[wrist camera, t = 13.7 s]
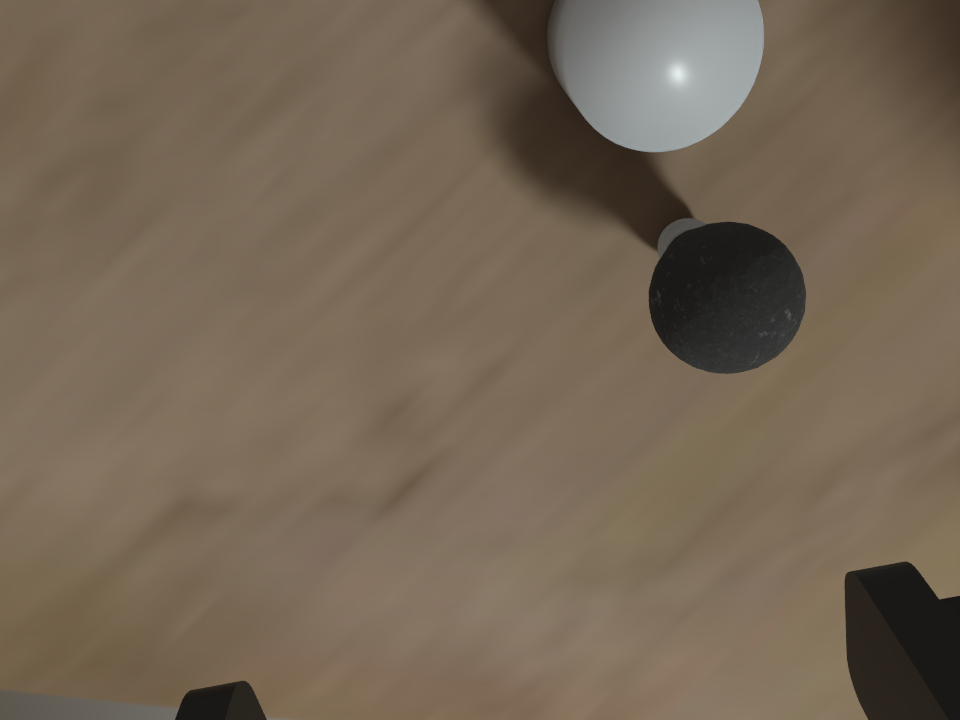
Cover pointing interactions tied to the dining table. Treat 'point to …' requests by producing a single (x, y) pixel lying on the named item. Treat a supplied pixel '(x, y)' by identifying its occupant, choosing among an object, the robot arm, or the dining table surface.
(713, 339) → the light bulb
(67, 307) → the dining table surface
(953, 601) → the robot arm
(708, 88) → the cylinder
